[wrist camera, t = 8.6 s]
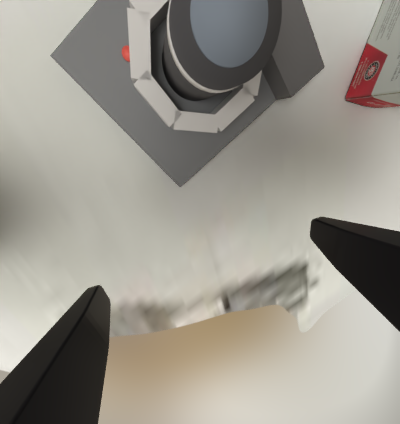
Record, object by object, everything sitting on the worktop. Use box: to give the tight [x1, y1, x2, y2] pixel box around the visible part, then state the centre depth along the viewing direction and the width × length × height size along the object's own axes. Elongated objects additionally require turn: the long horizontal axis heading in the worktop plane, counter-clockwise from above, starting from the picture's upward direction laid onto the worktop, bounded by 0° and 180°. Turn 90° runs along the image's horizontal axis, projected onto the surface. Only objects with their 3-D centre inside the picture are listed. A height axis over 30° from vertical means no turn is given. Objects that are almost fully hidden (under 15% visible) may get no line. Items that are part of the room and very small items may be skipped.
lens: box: [162, 0, 282, 101], centre depth 11 cm, size 5×5×7 cm
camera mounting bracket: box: [50, 0, 324, 187], centre depth 13 cm, size 14×12×4 cm
